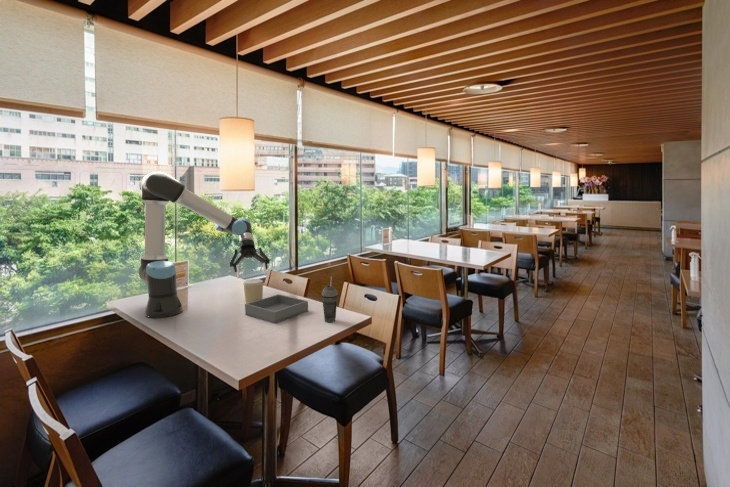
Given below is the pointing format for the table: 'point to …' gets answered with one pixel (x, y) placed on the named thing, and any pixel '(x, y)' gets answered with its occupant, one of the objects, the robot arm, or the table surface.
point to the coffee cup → (253, 290)
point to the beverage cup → (329, 302)
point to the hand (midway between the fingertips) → (252, 275)
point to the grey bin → (276, 308)
